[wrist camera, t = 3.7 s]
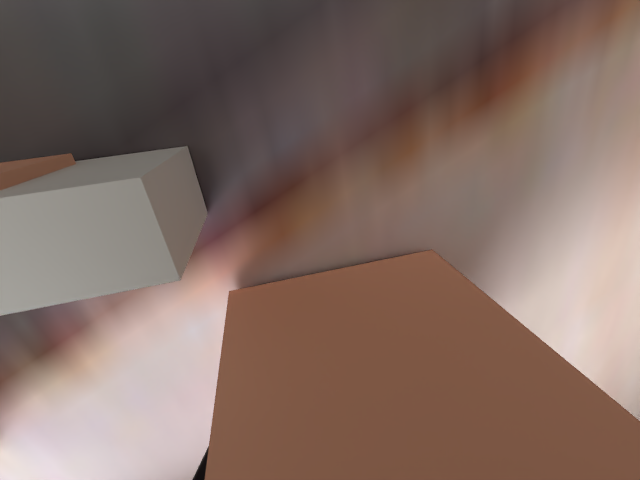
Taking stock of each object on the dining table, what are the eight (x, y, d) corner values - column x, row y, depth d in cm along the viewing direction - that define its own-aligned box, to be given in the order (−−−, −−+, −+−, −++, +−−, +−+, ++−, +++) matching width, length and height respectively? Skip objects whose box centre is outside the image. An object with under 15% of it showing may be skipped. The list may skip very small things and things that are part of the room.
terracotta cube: (432, 249, 9) (709, 479, 3) (422, 383, 11) (569, 629, 6) (229, 291, 8) (178, 677, 3) (269, 424, 11) (285, 749, 5)
